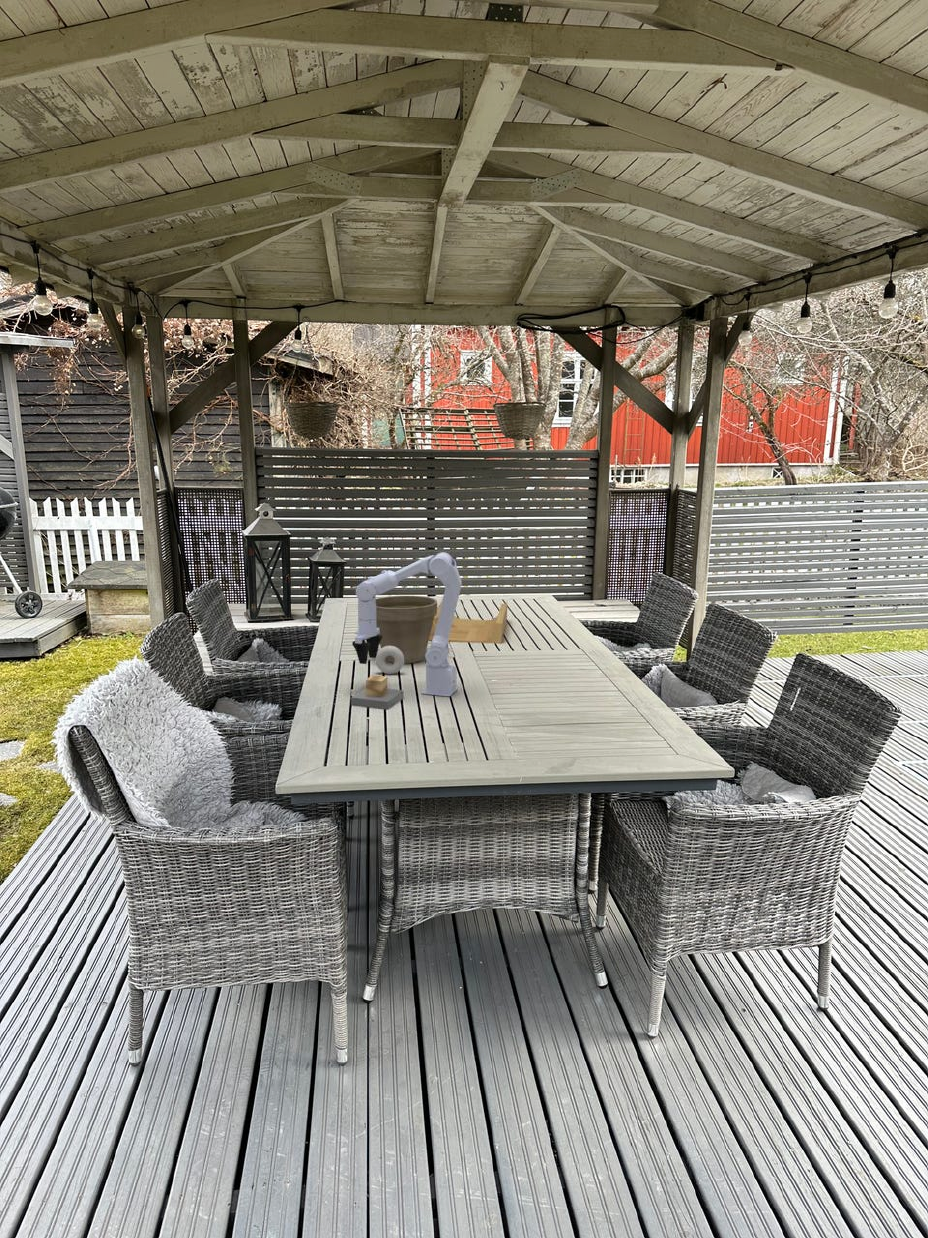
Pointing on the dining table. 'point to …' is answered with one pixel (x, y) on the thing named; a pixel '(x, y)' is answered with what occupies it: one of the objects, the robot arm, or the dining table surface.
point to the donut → (392, 652)
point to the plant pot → (406, 624)
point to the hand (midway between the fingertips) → (368, 660)
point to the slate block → (378, 699)
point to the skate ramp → (475, 628)
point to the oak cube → (376, 686)
